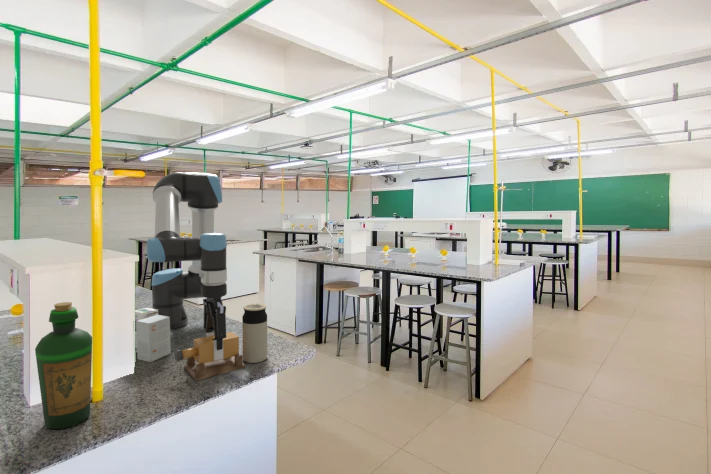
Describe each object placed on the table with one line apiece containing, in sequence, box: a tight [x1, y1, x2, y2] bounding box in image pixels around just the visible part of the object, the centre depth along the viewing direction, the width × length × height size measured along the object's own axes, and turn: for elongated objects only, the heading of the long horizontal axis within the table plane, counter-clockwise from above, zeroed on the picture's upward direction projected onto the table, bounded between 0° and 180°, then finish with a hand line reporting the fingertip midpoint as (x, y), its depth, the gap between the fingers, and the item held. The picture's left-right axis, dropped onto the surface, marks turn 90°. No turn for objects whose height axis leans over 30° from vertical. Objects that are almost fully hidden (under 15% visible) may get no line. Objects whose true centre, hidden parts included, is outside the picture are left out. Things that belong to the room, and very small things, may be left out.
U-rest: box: [184, 353, 246, 382], centre depth 118 cm, size 15×11×4 cm
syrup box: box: [134, 307, 158, 353], centre depth 130 cm, size 6×6×14 cm
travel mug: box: [241, 302, 268, 364], centre depth 125 cm, size 8×8×18 cm
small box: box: [136, 315, 172, 363], centre depth 125 cm, size 8×6×13 cm
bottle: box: [34, 301, 93, 430], centre depth 87 cm, size 11×11×28 cm
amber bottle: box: [174, 331, 240, 364], centre depth 116 cm, size 18×6×6 cm, turn 129°
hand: (214, 355), depth 118 cm, fingers closed on amber bottle, 6 cm apart
